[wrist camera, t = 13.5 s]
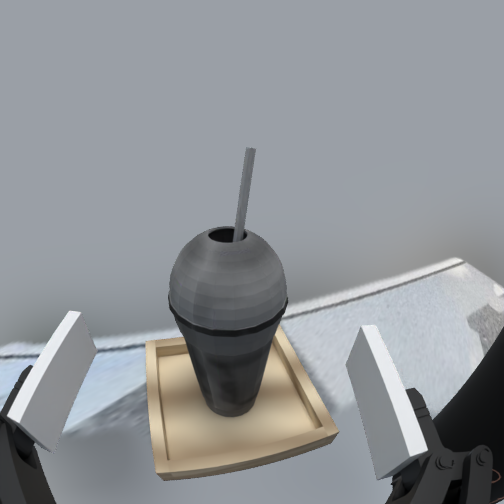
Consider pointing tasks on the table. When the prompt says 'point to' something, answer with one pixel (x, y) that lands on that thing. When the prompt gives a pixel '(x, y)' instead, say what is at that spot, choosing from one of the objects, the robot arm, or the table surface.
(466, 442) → the coffee jar
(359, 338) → the robot arm
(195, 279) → the beverage cup
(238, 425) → the tray
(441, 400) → the table surface
